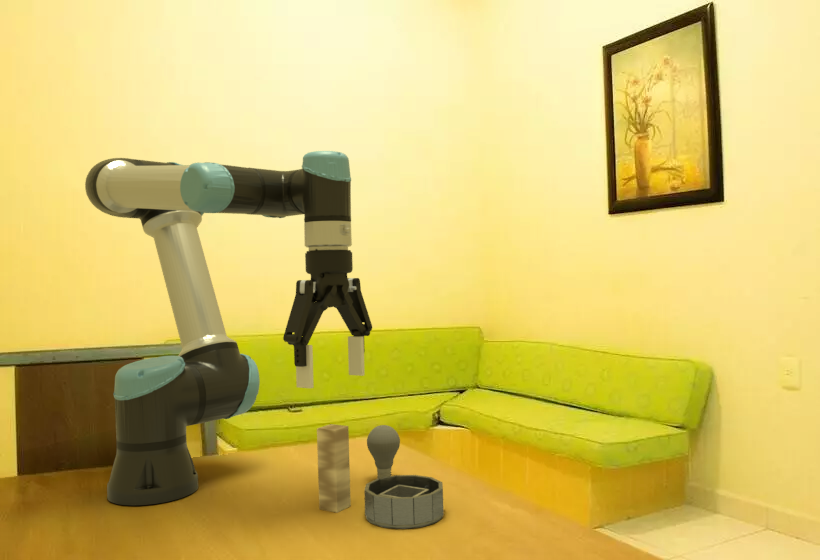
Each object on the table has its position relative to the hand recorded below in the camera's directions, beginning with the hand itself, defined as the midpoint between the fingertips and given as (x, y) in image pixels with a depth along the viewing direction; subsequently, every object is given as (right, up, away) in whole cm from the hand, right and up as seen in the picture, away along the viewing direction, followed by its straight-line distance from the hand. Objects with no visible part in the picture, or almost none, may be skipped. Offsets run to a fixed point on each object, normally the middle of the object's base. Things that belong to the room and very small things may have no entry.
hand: (332, 381), depth 116 cm
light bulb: (+8, -20, +14) cm, 26 cm away
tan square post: (0, -20, 0) cm, 20 cm away
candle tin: (+12, -20, -4) cm, 24 cm away
